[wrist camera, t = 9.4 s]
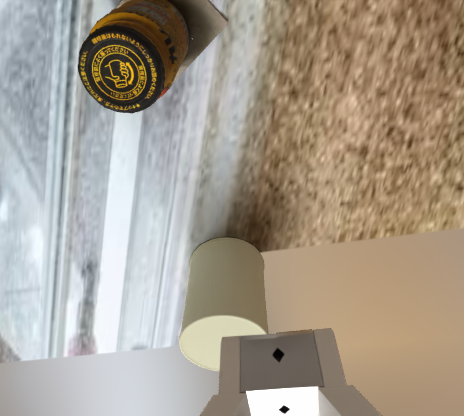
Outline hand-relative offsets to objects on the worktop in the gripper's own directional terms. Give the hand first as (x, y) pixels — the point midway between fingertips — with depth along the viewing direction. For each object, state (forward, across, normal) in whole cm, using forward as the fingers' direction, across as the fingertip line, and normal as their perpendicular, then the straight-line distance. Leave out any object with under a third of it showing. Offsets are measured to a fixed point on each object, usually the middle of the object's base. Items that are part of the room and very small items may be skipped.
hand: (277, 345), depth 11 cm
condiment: (+29, +7, -4) cm, 30 cm away
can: (+29, +6, +24) cm, 38 cm away
